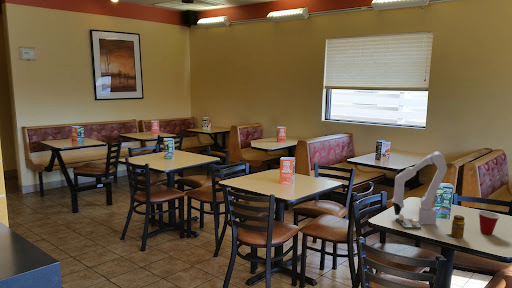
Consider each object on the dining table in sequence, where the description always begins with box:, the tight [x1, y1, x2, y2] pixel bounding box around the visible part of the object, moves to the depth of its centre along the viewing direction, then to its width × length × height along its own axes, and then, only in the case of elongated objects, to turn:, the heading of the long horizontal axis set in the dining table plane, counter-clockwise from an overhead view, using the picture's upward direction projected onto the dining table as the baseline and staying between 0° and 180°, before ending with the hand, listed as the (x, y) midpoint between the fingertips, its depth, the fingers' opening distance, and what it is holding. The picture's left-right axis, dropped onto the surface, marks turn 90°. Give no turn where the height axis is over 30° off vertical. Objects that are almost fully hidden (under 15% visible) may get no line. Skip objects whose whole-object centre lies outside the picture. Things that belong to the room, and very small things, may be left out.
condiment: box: [444, 214, 467, 240], centre depth 219 cm, size 7×8×12 cm
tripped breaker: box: [397, 213, 405, 220], centre depth 240 cm, size 2×3×3 cm, turn 0°
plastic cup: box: [478, 210, 501, 236], centre depth 225 cm, size 11×11×12 cm
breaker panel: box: [395, 217, 422, 230], centre depth 237 cm, size 10×14×2 cm
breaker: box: [411, 218, 418, 225], centre depth 232 cm, size 2×3×3 cm, turn 0°
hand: (397, 214), depth 247 cm, fingers closed
